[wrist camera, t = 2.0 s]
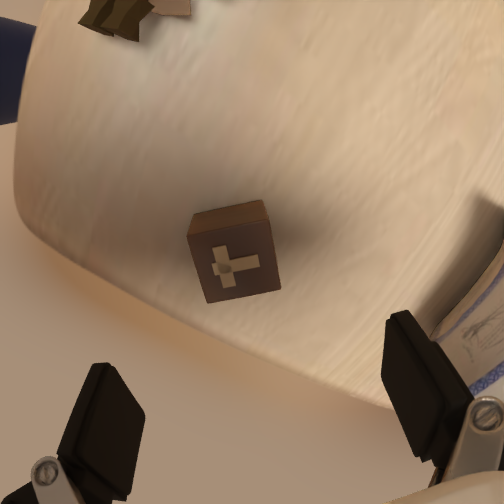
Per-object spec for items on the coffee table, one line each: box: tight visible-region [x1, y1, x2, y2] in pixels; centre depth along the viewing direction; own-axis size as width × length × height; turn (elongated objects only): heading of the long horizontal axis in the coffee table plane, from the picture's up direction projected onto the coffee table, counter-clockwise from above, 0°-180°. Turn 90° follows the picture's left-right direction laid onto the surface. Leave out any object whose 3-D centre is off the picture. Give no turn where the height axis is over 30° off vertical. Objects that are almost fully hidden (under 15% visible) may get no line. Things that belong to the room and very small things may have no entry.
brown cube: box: [187, 200, 281, 303], centre depth 18 cm, size 4×4×4 cm
